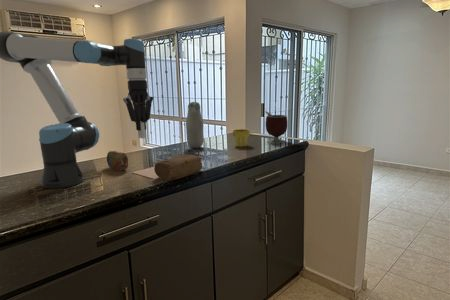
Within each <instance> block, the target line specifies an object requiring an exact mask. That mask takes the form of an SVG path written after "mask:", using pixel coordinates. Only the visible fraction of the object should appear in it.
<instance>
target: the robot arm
mask: <svg viewBox="0 0 450 300" xmlns="http://www.w3.org/2000/svg"><path fill="white" fill-rule="evenodd" d="M145 52H146V50H145V44H144V41H143V40H142V39H139V38H126V39H124V40H123V44H121V45H109V44H104V43H98V42H95V41H92V40H89V39H88V40H86V39H84V40H83V39H82V40H74V39H72V40H71V39H70V40H69V39H62V38H61V39H60V38H59V39H58V38H57V39H56V38H44V37H39V36H36V35H32V34H23V33H19V32H14V31H9V30H7V31H0V59H1V60H3V61H6V62H10V63H17V64H19V65H20V66H21V68H22V69H23V71H24V72H25V73H28V74H30V76H31V77H32V80H33V81H34V83H35V84H36V85H37V87H38V89H39V91H40V92H41V94H42V96H43V97H44V98H45V101H46V103H47V104H48V105H49V107H50V109H51V112H52V113H53V114H54V116H55V118H56V119H57V121H58V122H59V123H56V124H50V125H49V124H48V125H46V126H43V127H41V128H40V130H39V132H38V135H39V138H38V139H39V145H40V151H41V157H42V164H43V170H42V174H41V180H40V184H41V187H42V188H44V189H48V190H49V189H61V188H62V189H63V188H64V189H65V188H68V187H69V188H70V187H72V186H76V185H79V184H80V183H83V182H84V180H85V177H84V174H83V171H82V170H81V168H80V165H79V164H78V161H77V153H79V152H83V151H88V150H90V149H91V148H94V147H95V146H96V145H97V144H98V143H99V139H100V130H99V129H98V127H97V125H95V124H94V123H92V122H91V121H88V119H87V117H85V115H83V114H80V113H79V112H78V110H77V108H76V107H75V105H74V103H73V102H72V99H71V98H70V96H69V94H68V93H67V91H66V89H65V88H64V86H63V84H62V83H61V81H60V80H59V77H58V76H57V74H56V72H55V71H54V69H53V68H52V63H53V61H59V62H61V61H62V62H71V63H81V64H92V65H95V64H96V65H99V66H101V67H111V66H112V67H113V66H115V67H116V66H125V68H126V69H125V70H126V79H127V89H128V95H127V96H126V97H123V99H122V100H123V102H124V103H125V106H126V108H127V111H128V114H129V119H130V121H131V122H134V123H135V127H136V131H137V132H138V133H137V134H138V135H137V137H138V139H146V130H147V122H148V121H149V120H150V119H151V111H152V110H151V109H152V103H153V100H154V97H153V96H150V95H149V93H148V82H147V67H146V53H145Z"/></svg>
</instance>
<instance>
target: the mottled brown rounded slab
mask: <svg viewBox="0 0 450 300" xmlns="http://www.w3.org/2000/svg"><path fill="white" fill-rule="evenodd" d="M128 159H129V158H128V156H127V154H126V153H125V152H122V151H117V150H109V151H108V152H107V155H106V162H107V166H108V168H110V169H111V170H114V171H115V170H116V171H119V172H121V171H126V170H127V169H128V167H129V160H128Z"/></svg>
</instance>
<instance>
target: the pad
mask: <svg viewBox="0 0 450 300" xmlns="http://www.w3.org/2000/svg"><path fill="white" fill-rule="evenodd" d="M154 167H155V166H151V167H146V168H144V169H140V170H139V169H138V170H136V171H135V170H134V171H132V174H135V175H138V176H142V177H145V178H148V179H151V180H155V181H156V180H158V179H159V180H160V179H161V177H158V176H157V175H156V173H155V170H154Z"/></svg>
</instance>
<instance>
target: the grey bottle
mask: <svg viewBox="0 0 450 300" xmlns="http://www.w3.org/2000/svg"><path fill="white" fill-rule="evenodd" d="M185 130H186V131H185V132H186V143H187V145H188V147H189V148H192V149H200V148H202V146H203V144H204V141H205V139H204V137H205V136H204V120H203V116H202V111H201V104H200V103H199V102H197V101H190V102H189V103H188V105H187V116H186V119H185Z"/></svg>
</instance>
